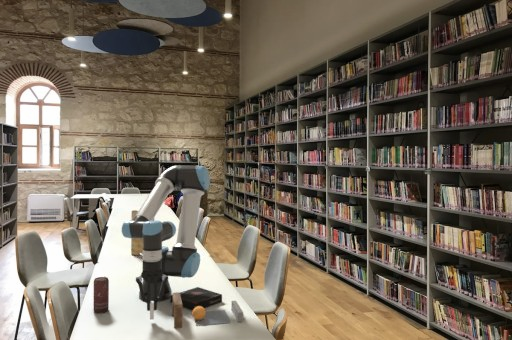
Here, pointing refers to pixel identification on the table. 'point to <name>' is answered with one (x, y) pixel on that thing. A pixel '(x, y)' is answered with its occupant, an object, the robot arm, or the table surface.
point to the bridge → (177, 309)
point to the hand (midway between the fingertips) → (151, 318)
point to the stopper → (237, 311)
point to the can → (101, 294)
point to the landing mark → (213, 318)
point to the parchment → (136, 240)
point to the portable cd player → (199, 298)
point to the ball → (199, 313)
